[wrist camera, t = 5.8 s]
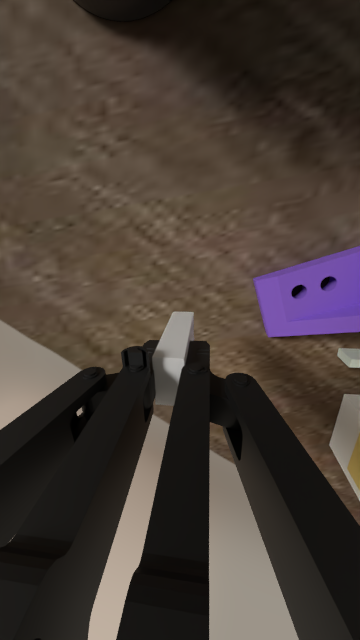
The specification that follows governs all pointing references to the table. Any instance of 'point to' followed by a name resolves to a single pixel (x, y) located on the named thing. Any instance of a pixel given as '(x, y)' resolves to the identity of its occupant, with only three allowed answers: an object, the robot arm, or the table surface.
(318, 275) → the bracket
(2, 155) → the table surface
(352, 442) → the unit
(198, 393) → the robot arm
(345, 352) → the corral
